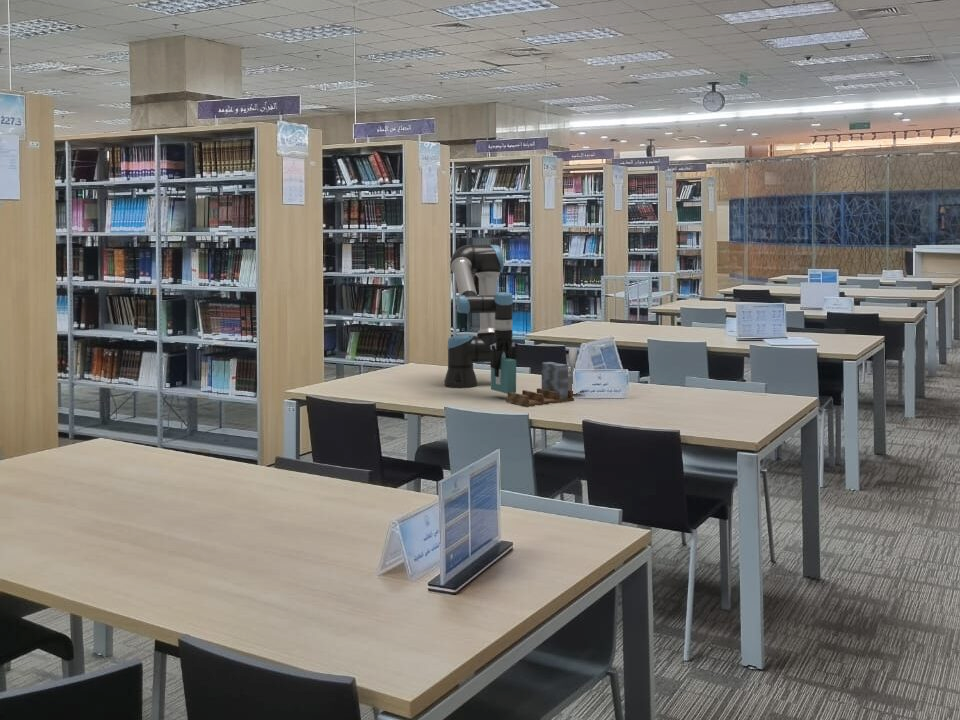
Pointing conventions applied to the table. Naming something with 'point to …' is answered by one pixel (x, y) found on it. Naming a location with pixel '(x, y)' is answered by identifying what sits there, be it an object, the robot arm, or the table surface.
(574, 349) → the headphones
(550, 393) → the rack
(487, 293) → the robot arm
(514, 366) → the book block
